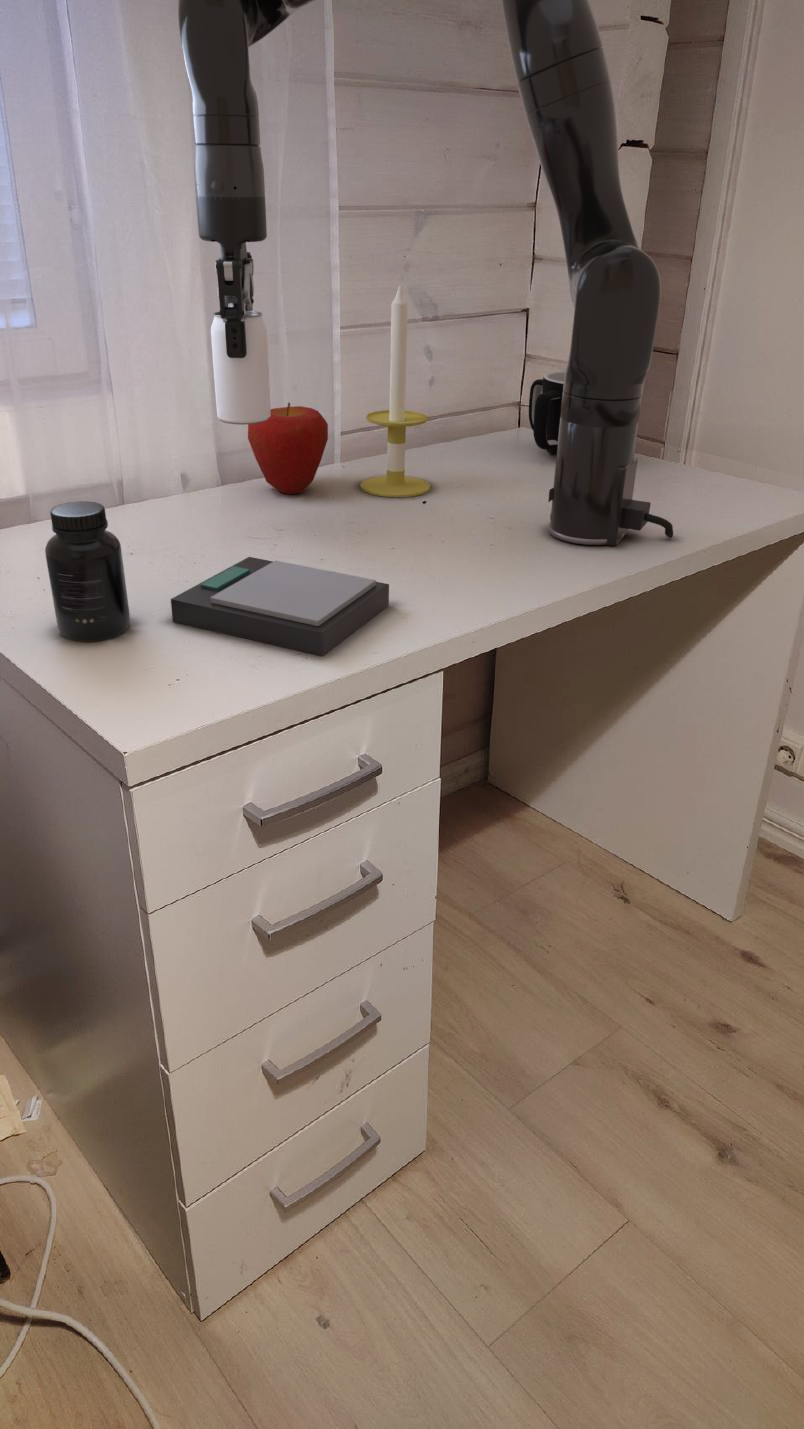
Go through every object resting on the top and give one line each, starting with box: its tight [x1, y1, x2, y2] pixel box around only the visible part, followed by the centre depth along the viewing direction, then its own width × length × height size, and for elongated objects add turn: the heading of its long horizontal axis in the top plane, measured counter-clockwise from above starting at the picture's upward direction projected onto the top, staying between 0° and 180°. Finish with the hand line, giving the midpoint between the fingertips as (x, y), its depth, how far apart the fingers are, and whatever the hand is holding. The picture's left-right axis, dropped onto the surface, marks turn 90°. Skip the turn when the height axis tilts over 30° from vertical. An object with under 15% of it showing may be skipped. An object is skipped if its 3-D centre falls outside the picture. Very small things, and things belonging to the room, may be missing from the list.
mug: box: [528, 370, 565, 457], centre depth 160 cm, size 16×16×12 cm
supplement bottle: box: [44, 500, 131, 642], centre depth 95 cm, size 7×7×12 cm
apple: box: [247, 401, 329, 495], centre depth 138 cm, size 11×11×12 cm
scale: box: [170, 556, 390, 657], centre depth 101 cm, size 17×14×3 cm
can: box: [210, 310, 271, 426], centre depth 119 cm, size 6×6×12 cm
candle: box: [359, 281, 431, 498], centre depth 137 cm, size 10×10×27 cm
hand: (240, 352), depth 118 cm, fingers closed on can, 6 cm apart
